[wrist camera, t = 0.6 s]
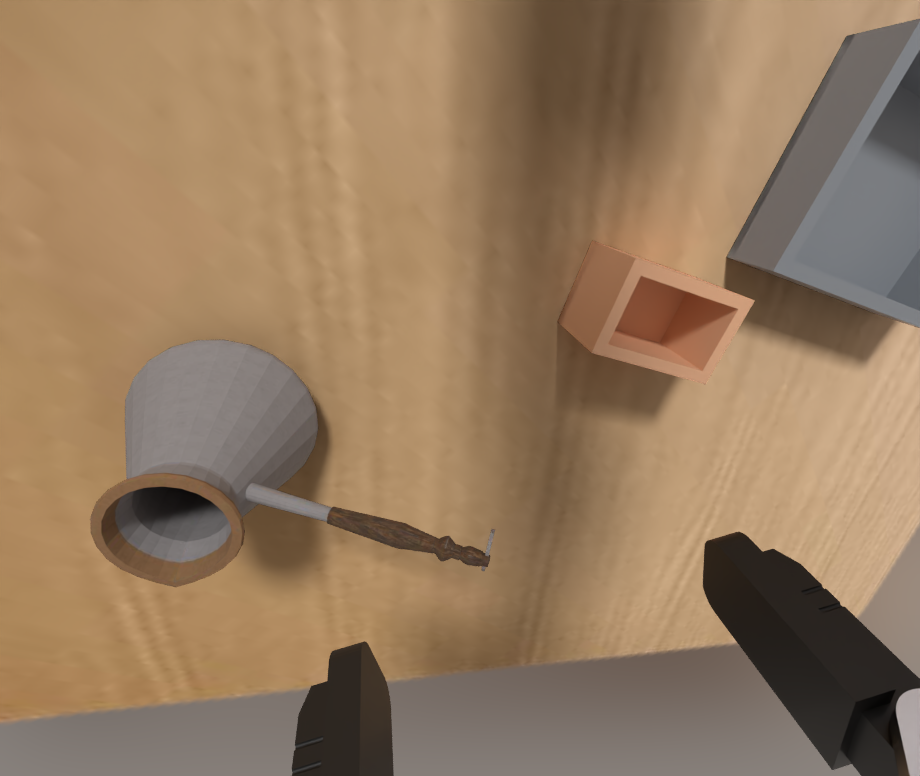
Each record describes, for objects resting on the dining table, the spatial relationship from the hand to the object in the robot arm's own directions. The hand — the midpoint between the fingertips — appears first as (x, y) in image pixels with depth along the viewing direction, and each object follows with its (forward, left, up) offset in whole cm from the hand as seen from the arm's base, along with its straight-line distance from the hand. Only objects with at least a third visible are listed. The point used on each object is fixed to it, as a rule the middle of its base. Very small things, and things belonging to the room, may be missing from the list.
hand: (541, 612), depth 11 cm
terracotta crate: (-4, +14, -24) cm, 28 cm away
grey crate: (-16, +28, -24) cm, 41 cm away
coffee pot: (+10, -6, -25) cm, 27 cm away
